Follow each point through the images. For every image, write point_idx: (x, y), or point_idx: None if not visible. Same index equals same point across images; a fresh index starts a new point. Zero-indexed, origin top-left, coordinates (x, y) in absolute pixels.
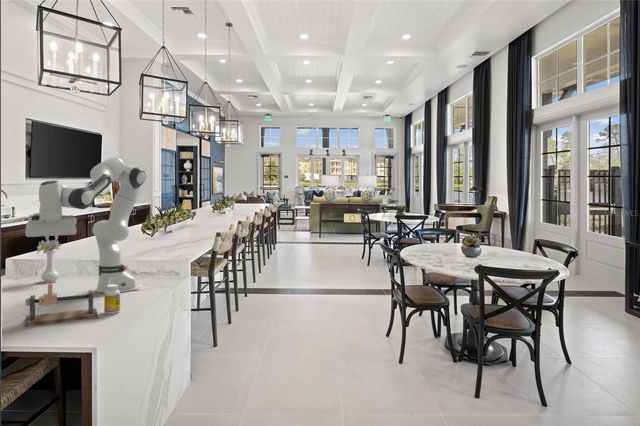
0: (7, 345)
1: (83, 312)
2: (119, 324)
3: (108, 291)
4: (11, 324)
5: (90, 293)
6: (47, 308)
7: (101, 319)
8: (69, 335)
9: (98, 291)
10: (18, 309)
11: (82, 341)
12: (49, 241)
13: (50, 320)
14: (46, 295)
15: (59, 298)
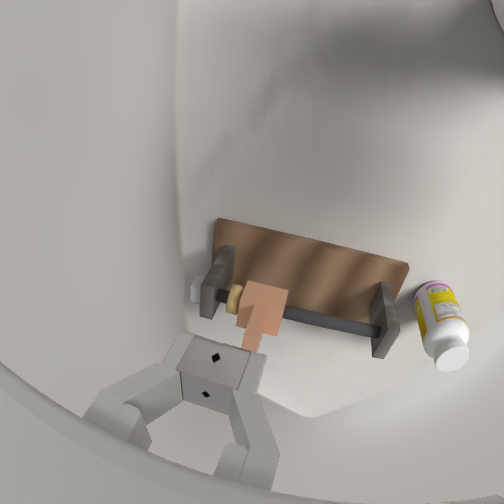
0: None
1: (362, 287)
2: (388, 376)
3: (432, 352)
4: (185, 243)
5: (376, 356)
6: (289, 123)
7: None
8: (288, 376)
9: (496, 14)
10: (199, 82)
11: (297, 404)
12: (176, 402)
13: None
14: (246, 321)
15: (289, 319)
